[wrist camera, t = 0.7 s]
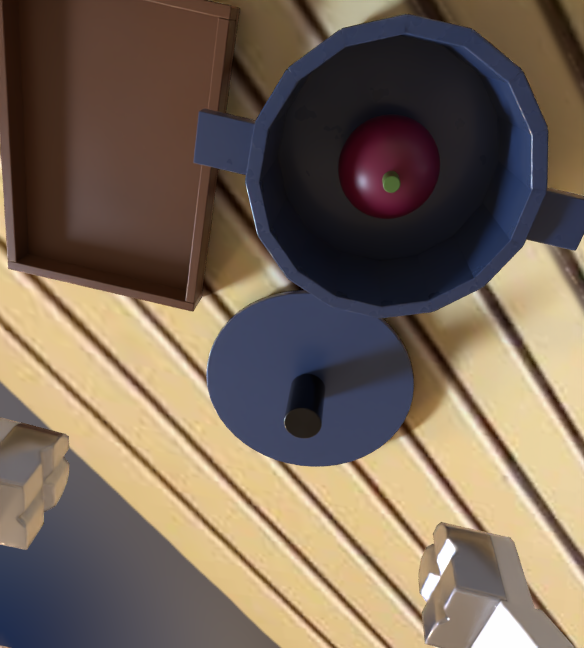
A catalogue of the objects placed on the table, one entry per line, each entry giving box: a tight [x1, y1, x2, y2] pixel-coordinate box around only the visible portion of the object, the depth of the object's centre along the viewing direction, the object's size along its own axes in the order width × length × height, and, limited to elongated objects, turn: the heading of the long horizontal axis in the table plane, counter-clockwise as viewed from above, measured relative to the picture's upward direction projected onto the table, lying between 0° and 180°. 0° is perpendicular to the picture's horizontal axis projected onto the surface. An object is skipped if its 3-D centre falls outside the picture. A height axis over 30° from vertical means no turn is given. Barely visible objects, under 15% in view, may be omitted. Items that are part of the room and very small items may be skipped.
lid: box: [207, 290, 414, 466], centre depth 36 cm, size 14×14×5 cm
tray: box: [0, 0, 240, 311], centre depth 31 cm, size 17×12×2 cm
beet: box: [338, 114, 440, 219], centre depth 28 cm, size 5×5×6 cm
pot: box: [193, 14, 584, 318], centre depth 28 cm, size 13×19×7 cm
